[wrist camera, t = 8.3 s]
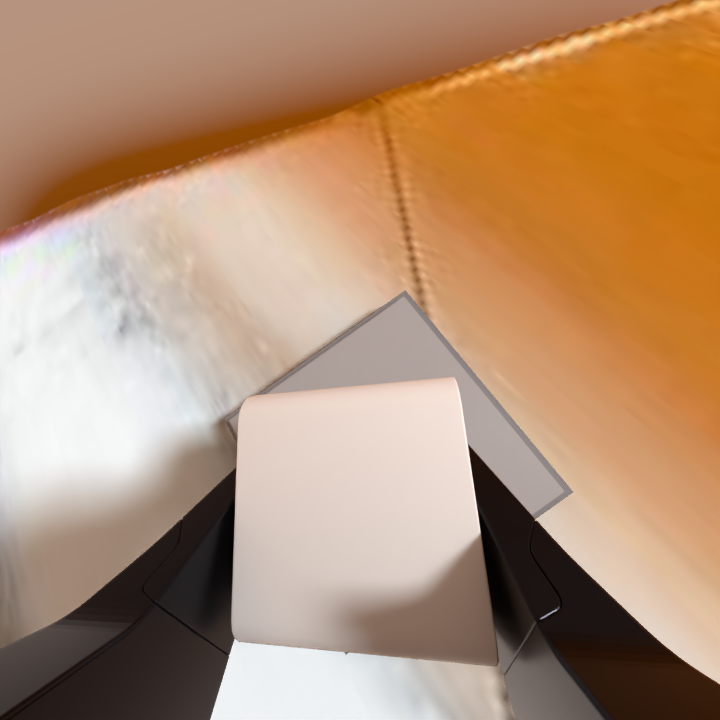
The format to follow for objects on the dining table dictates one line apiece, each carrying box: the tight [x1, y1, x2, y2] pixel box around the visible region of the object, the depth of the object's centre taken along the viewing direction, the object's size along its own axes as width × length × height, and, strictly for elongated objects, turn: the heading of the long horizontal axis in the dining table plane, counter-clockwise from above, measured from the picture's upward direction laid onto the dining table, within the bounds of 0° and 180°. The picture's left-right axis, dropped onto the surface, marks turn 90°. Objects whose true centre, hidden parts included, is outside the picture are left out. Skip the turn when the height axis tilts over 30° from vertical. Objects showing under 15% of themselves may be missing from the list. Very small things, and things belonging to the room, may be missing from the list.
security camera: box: [231, 377, 499, 666], centre depth 11 cm, size 6×7×10 cm
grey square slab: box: [224, 290, 573, 654], centre depth 18 cm, size 16×16×3 cm
